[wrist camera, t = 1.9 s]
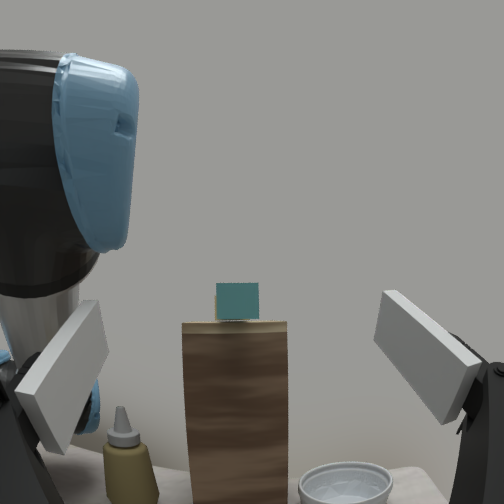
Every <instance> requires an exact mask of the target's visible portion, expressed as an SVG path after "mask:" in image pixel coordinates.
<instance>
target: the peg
mask: <svg viewBox="0 0 504 504" xmlns="http://www.w3.org/2000/svg"><path fill="white" fill-rule="evenodd" d="M216 293H217V294H216V296H215V320H250V319H259V295H258V294H259V291H258V283H216Z"/></svg>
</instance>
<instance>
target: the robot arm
mask: <svg viewBox="0 0 504 504" xmlns="http://www.w3.org/2000/svg"><path fill="white" fill-rule="evenodd" d="M138 108H139V88H138V84H137V81H136V80H135V78H134V76H133V75H132V74H131V72H130V71H129V70H127V69H126V68H124V67H122V66H119V65H115V64H110V63H106V62H101V61H97V60H93V59H89V58H85V57H81V56H79V55H77V54H76V53H62V52H51V51H50V52H49V51H34V50H0V323H1V326H2V329H3V332H4V335H5V338H6V341H7V343H8V346H9V348H10V351H11V354H12V356H13V359H14V361H12V360H10V359H11V356H10V355H9V352H8V351H6V350H0V504H64V502H63V501H62V499H61V497H60V495H59V493H58V491H57V489H56V487H55V485H54V483H53V481H52V479H51V477H50V475H49V473H48V471H47V469H46V467H45V465H44V462H43V460H42V458H41V456H40V453H39V452H38V450H37V449H36V447H37V445H38V443H39V441H41V443H42V445H43V446H44V448H45V450H46V451H48V452H52V453H57V454H61V455H65V453H66V451H67V448H68V446H69V443H70V440H71V438H72V435H73V434H77V435H82V434H85V433H93V432H95V431H96V430H97V428H98V426H99V421H100V414H99V412H100V396H99V386H98V380H97V377H98V375H99V373H100V371H101V368H102V366H103V364H104V362H105V360H106V358H107V356H108V353H109V349H108V346H107V341H106V336H105V332H104V327H103V322H102V317H101V312H100V307H99V301H98V300H83V301H82V302H81V304H80V305H79V306H78V301H79V283H81V282H82V281H83V280H84V279H85V278H86V277H87V276H88V275H89V274H90V272H91V271H92V270H93V268H94V266H95V265H96V263H97V260H98V257H99V255H100V253H107V252H108V251H109V250H118V249H119V248H121V247H123V246H124V244H125V242H126V239H127V233H128V226H129V215H130V205H131V193H132V180H133V168H134V157H135V145H136V133H137V120H138ZM374 341H375V343H376V344H377V345H378V346H379V347H380V349H381V350H382V351H383V352H384V354H385V355H386V356H387V357H388V358H389V360H390V361H391V362H392V363H393V364H394V366H395V367H396V368H397V369H398V371H399V372H400V373H401V374H402V376H403V377H404V378H405V379H406V381H407V382H408V383H409V384H410V386H411V387H412V388H413V390H414V391H415V392H416V393H417V395H418V396H419V397H420V398H421V400H422V401H423V402H424V403H425V405H426V406H427V407H428V409H429V410H430V411H431V412H432V414H433V415H434V416H435V417H436V419H437V420H438V421H439V423H440V424H441V425H444V424H447V423H449V422H452V421H454V420H456V419H457V417H458V415H459V413H460V411H461V409H462V408H463V409H464V411H465V412H466V415H465V417H464V419H463V421H462V423H461V425H460V427H459V428H458V431H457V433H456V434H459V432H460V431H461V430H462V436H461V443H460V450H459V457H458V463H457V469H456V474H455V479H454V484H453V489H452V493H451V498H450V502H449V504H504V363H501V362H493V363H490V364H489V363H488V362H487V361H486V360H485V359H484V358H482V357H481V356H480V355H479V354H478V353H477V352H475V351H474V350H473V349H471V348H470V347H469V346H468V345H467V344H465V342H464V341H462V340H461V339H460V338H459V337H458V336H456V335H454V334H451V333H449V332H447V331H446V330H445V329H443V328H442V327H441V326H439V324H437V323H436V322H435V321H434V320H433V319H431V318H430V317H429V316H428V315H426V314H425V313H424V312H423V311H422V310H420V309H419V308H418V307H417V306H415V305H414V304H413V303H412V302H410V301H409V300H408V299H407V298H405V297H404V296H403V295H402V294H400V293H399V292H398V291H396V290H388V291H383V292H382V298H381V304H380V310H379V315H378V321H377V326H376V331H375V335H374Z"/></svg>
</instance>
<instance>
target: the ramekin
mask: <svg viewBox="0 0 504 504" xmlns="http://www.w3.org/2000/svg"><path fill="white" fill-rule="evenodd" d="M392 486H393V477H392V475H391V473H390V472H389V471H388V470H386V469H385V468H383V467H381V466H378V465H375V464H371V463H364V462H338V463H331V464H326V465H322V466H319V467H316V468H314V469H312V470H310V471H308V472H306V473H305V474H304V475H303V476H302V477H301V478H300V480H299V485H298V493H299V495H300V499H301V504H386V502H387V499H388V496H389V493H390V492H391V490H392Z"/></svg>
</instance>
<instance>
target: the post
mask: <svg viewBox="0 0 504 504" xmlns="http://www.w3.org/2000/svg"><path fill="white" fill-rule="evenodd" d="M182 351H183V352H182V355H183V380H184V399H185V417H186V431H187V444H188V455H189V467H190V477H191V486H192V495H193V503H194V504H287V497H288V355H287V354H288V350H287V322H286V321H231V322H230V321H228V322H227V321H226V322H186V323H182Z"/></svg>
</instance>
